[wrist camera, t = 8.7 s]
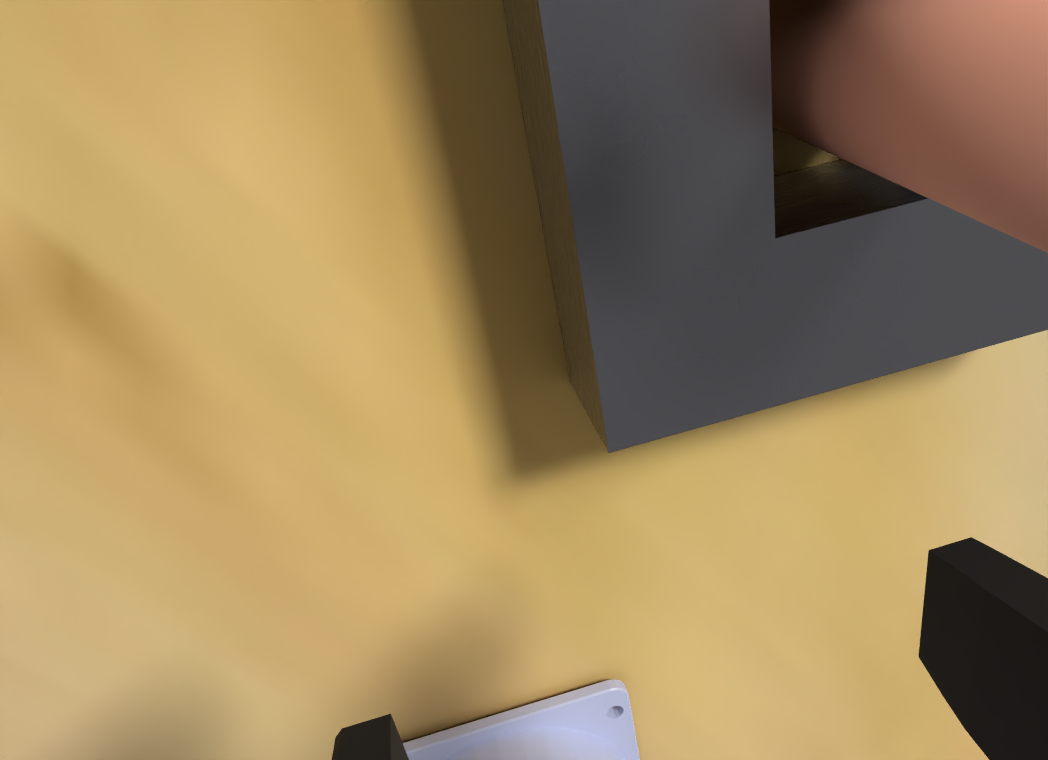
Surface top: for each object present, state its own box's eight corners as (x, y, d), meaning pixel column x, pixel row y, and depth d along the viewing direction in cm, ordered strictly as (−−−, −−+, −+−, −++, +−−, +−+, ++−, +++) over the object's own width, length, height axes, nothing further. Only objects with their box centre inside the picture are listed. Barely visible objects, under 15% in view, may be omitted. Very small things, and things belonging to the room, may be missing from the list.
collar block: (1035, 256, 21) (1138, 303, 18) (570, 382, 19) (608, 453, 17) (1128, -380, 14) (1303, -443, 12) (458, -250, 13) (492, -291, 11)
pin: (871, 116, 18) (1213, 240, 11) (739, 143, 18) (1010, 288, 11) (882, -38, 16) (1289, -5, 10) (739, -12, 16) (1054, 40, 9)
